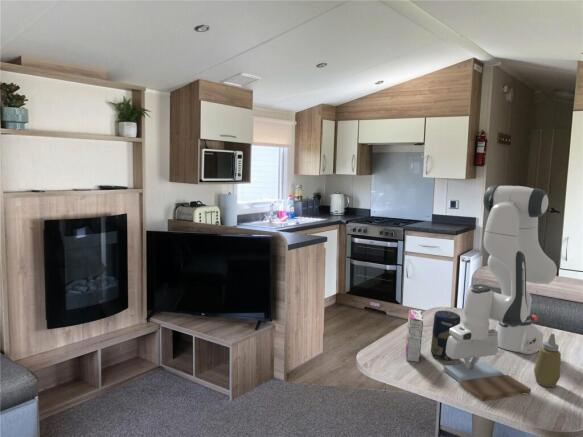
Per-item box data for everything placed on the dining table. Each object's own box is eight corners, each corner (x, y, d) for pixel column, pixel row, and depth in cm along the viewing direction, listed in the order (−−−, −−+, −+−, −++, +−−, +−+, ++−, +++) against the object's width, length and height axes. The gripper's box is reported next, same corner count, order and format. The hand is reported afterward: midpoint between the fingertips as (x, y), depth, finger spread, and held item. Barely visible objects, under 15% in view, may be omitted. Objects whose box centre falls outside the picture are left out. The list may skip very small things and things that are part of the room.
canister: (456, 353, 184) (461, 309, 182) (456, 363, 175) (461, 317, 173) (430, 349, 187) (435, 305, 185) (429, 358, 178) (434, 312, 176)
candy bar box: (404, 349, 186) (408, 309, 183) (417, 350, 185) (422, 310, 183) (405, 361, 175) (409, 318, 173) (419, 363, 174) (424, 320, 172)
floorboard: (507, 378, 166) (507, 374, 165) (530, 393, 156) (530, 388, 156) (460, 385, 159) (461, 381, 158) (481, 400, 149) (482, 396, 149)
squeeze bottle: (527, 377, 167) (534, 329, 165) (549, 378, 168) (556, 329, 165) (541, 389, 159) (548, 338, 157) (563, 389, 160) (571, 339, 158)
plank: (484, 364, 175) (484, 361, 174) (504, 378, 165) (504, 374, 165) (443, 369, 169) (444, 365, 168) (462, 384, 159) (462, 380, 159)
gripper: (491, 325, 173) (487, 361, 175) (445, 329, 166) (440, 366, 168) (504, 332, 167) (499, 369, 169) (457, 336, 160) (452, 374, 162)
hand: (470, 367), depth 168 cm, fingers closed, pressing on plank
